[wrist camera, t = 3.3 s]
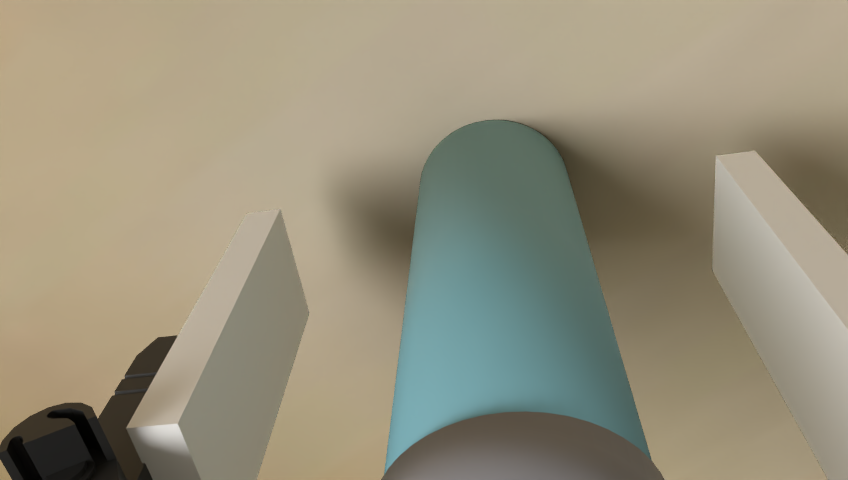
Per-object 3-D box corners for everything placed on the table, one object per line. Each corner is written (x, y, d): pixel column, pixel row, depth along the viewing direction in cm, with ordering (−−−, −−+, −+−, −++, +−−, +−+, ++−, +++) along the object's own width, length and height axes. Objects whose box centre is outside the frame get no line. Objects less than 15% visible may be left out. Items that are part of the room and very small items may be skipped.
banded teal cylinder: (567, 105, 17) (731, 559, 7) (577, 248, 19) (718, 783, 8) (403, 127, 17) (311, 585, 7) (428, 265, 19) (385, 792, 9)
